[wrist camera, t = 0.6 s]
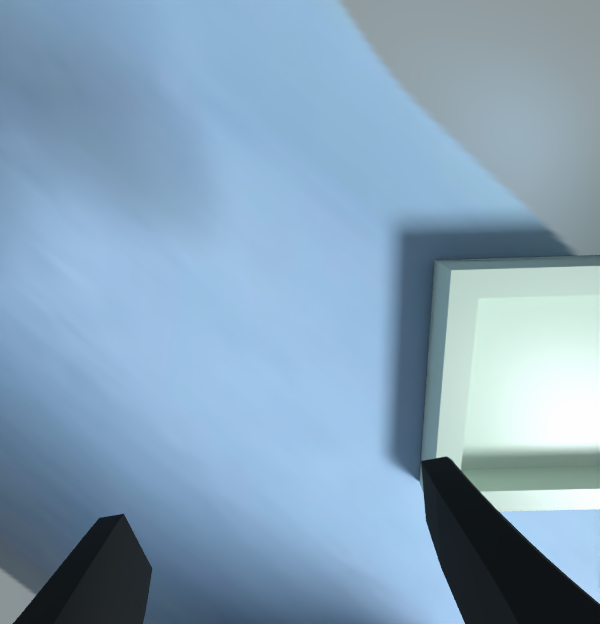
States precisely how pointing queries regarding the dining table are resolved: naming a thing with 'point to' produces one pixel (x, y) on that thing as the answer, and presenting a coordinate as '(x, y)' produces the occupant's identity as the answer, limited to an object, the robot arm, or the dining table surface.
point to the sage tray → (517, 379)
